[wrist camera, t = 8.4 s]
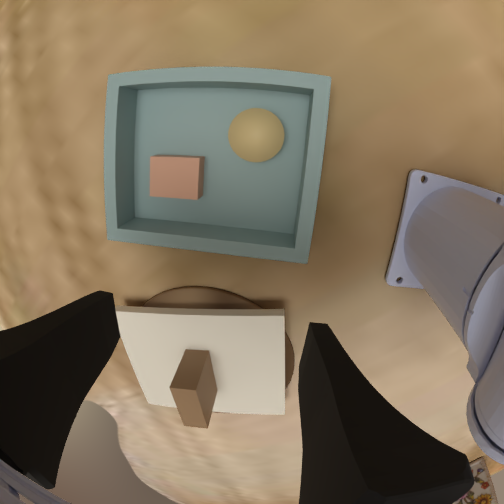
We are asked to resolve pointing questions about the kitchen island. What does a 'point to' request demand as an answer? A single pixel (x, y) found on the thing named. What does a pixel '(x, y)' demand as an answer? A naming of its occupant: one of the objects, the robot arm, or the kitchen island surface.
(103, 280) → the kitchen island surface
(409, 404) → the kitchen island surface
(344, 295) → the kitchen island surface
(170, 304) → the trivet
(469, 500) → the decorative jar
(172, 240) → the blue-grey open tray
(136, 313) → the lid
